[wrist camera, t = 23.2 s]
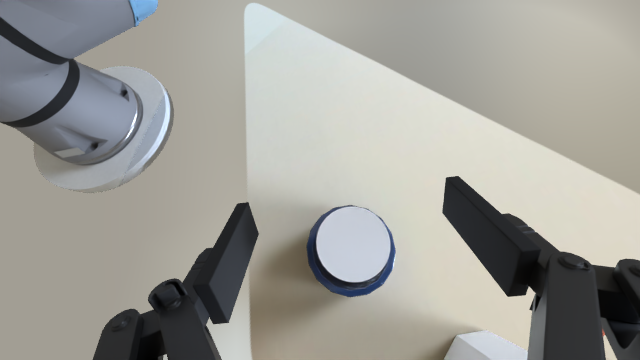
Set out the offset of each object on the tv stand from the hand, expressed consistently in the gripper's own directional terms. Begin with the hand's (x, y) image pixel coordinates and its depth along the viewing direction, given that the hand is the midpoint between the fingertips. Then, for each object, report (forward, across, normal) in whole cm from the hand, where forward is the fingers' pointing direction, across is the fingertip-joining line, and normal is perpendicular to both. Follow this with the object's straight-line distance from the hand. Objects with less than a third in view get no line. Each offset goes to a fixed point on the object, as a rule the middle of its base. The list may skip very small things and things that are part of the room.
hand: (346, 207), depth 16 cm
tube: (+8, 0, -11) cm, 14 cm away
